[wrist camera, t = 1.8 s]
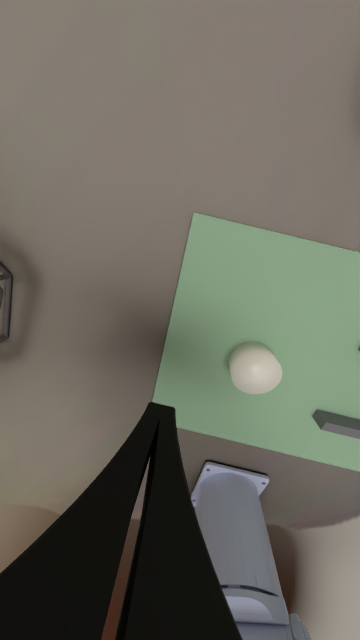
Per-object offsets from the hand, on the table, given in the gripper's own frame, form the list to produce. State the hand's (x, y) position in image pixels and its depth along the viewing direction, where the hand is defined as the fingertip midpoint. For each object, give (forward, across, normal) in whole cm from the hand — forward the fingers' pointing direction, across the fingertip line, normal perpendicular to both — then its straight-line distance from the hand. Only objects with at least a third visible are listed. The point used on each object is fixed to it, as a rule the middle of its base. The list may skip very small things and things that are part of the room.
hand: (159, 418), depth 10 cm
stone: (+8, -7, 0) cm, 11 cm away
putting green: (+8, -12, 0) cm, 15 cm away
